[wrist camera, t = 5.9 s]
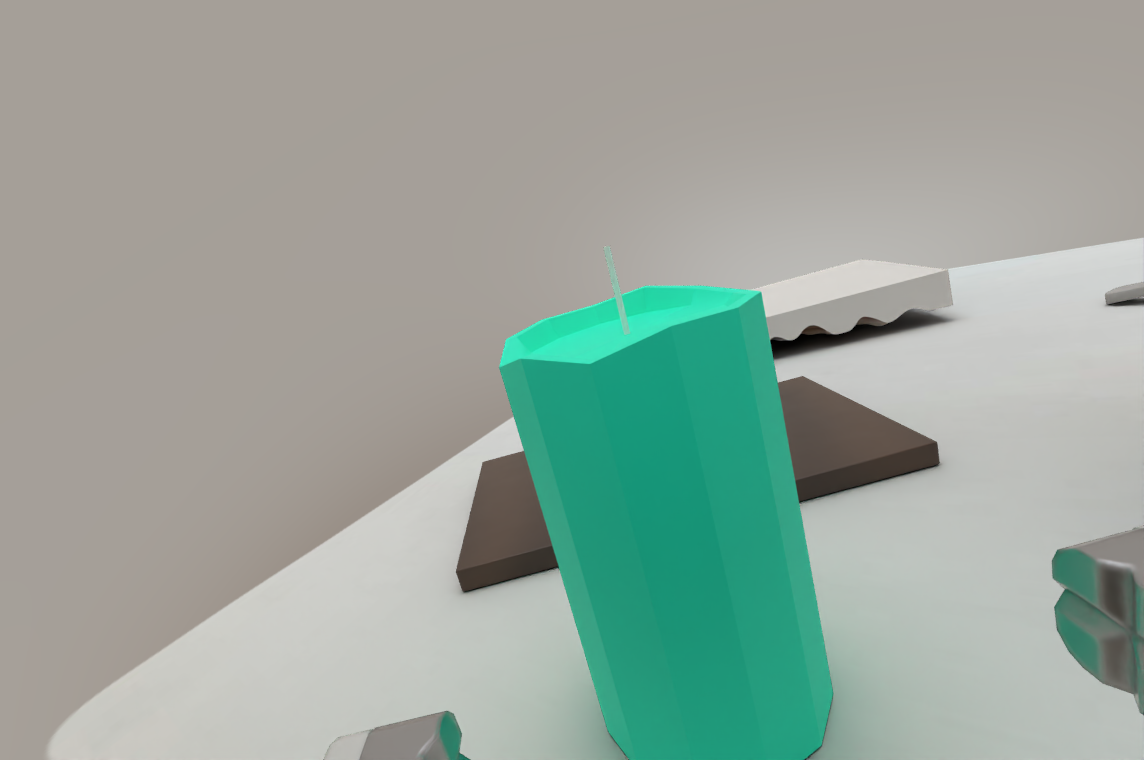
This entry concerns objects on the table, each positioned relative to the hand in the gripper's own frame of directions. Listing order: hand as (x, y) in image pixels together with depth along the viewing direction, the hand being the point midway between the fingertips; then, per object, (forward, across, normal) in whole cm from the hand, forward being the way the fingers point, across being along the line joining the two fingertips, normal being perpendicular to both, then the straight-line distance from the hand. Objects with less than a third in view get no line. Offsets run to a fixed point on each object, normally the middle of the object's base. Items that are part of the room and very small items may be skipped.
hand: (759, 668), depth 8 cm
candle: (+7, 0, +7) cm, 9 cm away
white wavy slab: (+42, -17, +7) cm, 45 cm away
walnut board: (+21, -2, +6) cm, 22 cm away
